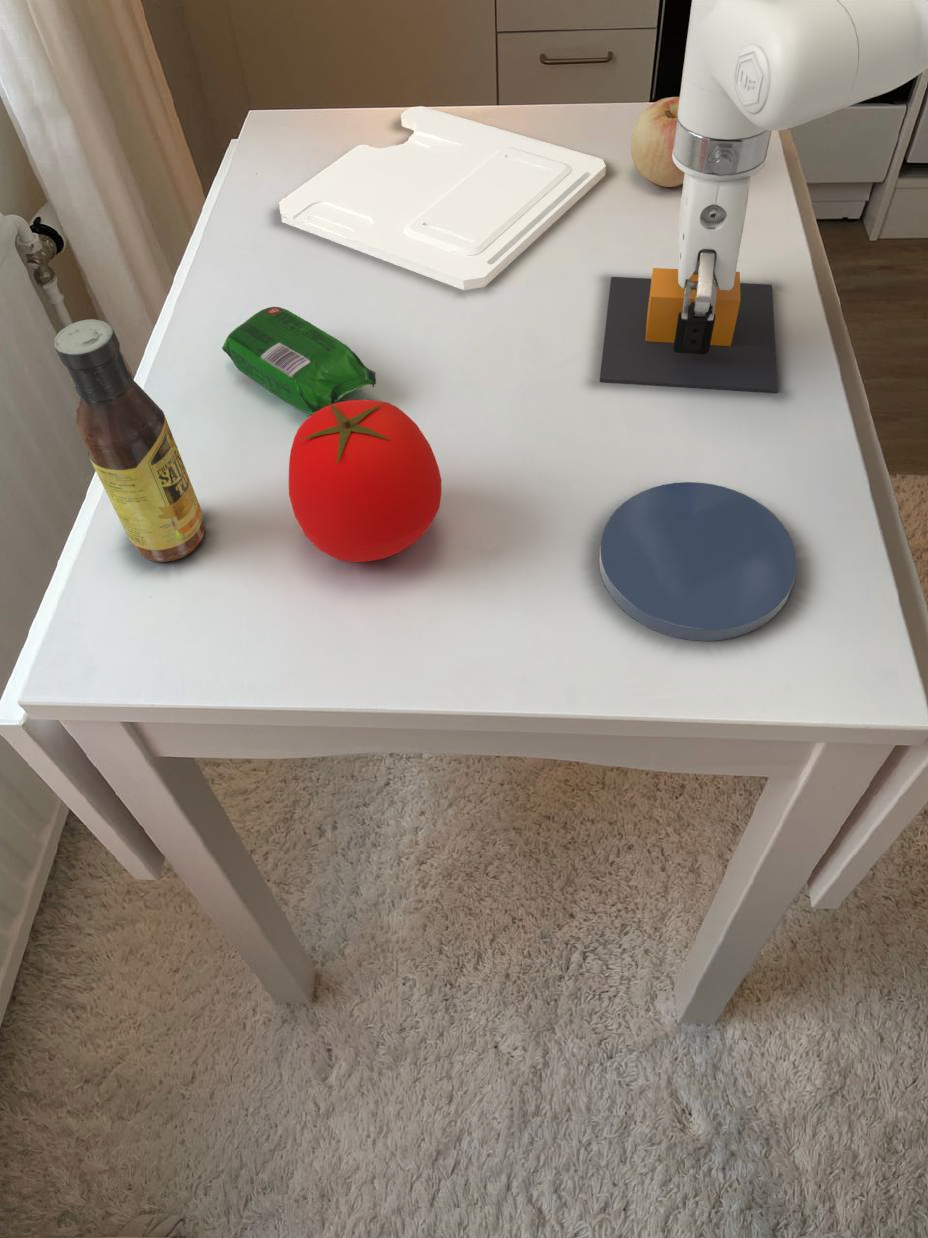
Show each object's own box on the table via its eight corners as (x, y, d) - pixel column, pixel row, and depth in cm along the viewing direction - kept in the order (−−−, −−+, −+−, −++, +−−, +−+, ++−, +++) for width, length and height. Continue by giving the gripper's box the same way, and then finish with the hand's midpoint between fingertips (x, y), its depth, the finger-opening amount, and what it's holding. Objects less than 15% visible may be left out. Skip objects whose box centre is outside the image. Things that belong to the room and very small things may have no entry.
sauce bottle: (209, 559, 78) (128, 363, 62) (132, 571, 78) (31, 377, 62) (208, 502, 82) (132, 303, 66) (135, 513, 82) (40, 316, 66)
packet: (730, 316, 93) (739, 271, 89) (730, 346, 90) (740, 300, 86) (647, 312, 94) (652, 267, 90) (645, 341, 91) (650, 296, 87)
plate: (788, 501, 79) (792, 489, 77) (797, 650, 70) (802, 639, 69) (605, 487, 81) (607, 475, 79) (592, 630, 72) (593, 619, 71)
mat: (771, 287, 96) (771, 284, 95) (776, 393, 87) (777, 389, 86) (611, 279, 98) (611, 276, 98) (599, 381, 89) (599, 378, 88)
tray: (271, 218, 108) (269, 205, 107) (417, 111, 121) (416, 99, 120) (476, 294, 98) (475, 281, 96) (611, 169, 111) (612, 156, 109)
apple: (704, 158, 111) (715, 86, 104) (706, 200, 106) (718, 127, 99) (629, 157, 112) (635, 86, 106) (626, 198, 107) (633, 126, 100)
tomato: (271, 542, 79) (235, 427, 69) (369, 463, 84) (349, 345, 74) (379, 617, 74) (356, 505, 64) (476, 528, 79) (470, 411, 68)
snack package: (327, 441, 86) (317, 396, 82) (220, 367, 92) (206, 322, 88) (384, 401, 89) (378, 356, 84) (276, 333, 95) (266, 287, 91)
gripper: (772, 199, 72) (732, 380, 85) (766, 89, 82) (731, 267, 95) (671, 195, 73) (647, 375, 86) (677, 88, 83) (655, 264, 96)
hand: (691, 318), depth 91 cm, fingers open, 9 cm apart
